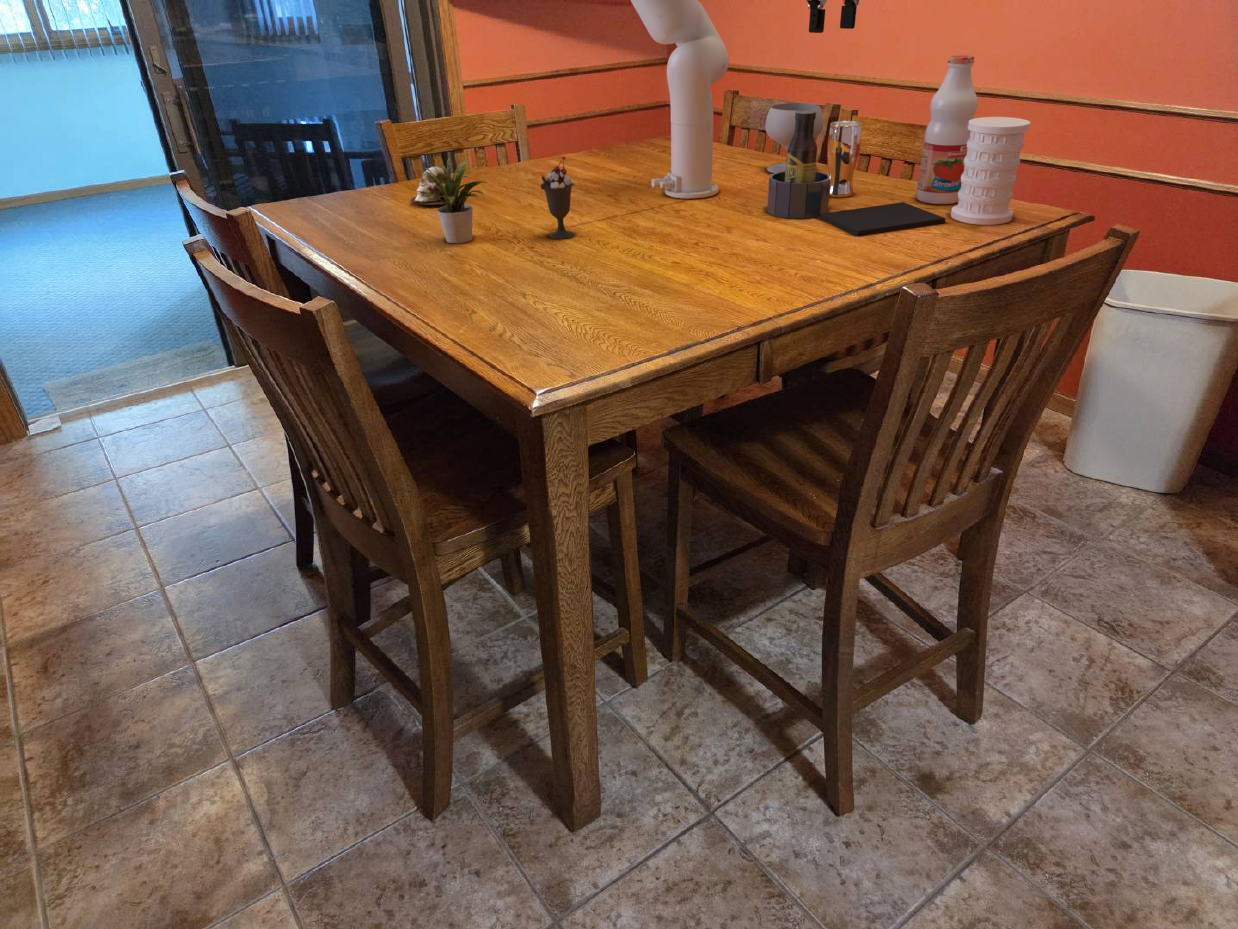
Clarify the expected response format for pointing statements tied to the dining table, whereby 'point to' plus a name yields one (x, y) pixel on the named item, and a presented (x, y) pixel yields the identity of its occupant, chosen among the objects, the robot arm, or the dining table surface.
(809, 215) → the holder
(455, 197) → the house plant
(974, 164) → the decorative container
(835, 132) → the beer glass
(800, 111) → the sauce bottle
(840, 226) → the placemat
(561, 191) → the sundae
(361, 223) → the dining table surface
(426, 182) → the skull
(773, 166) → the chalice
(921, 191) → the fruit juice
